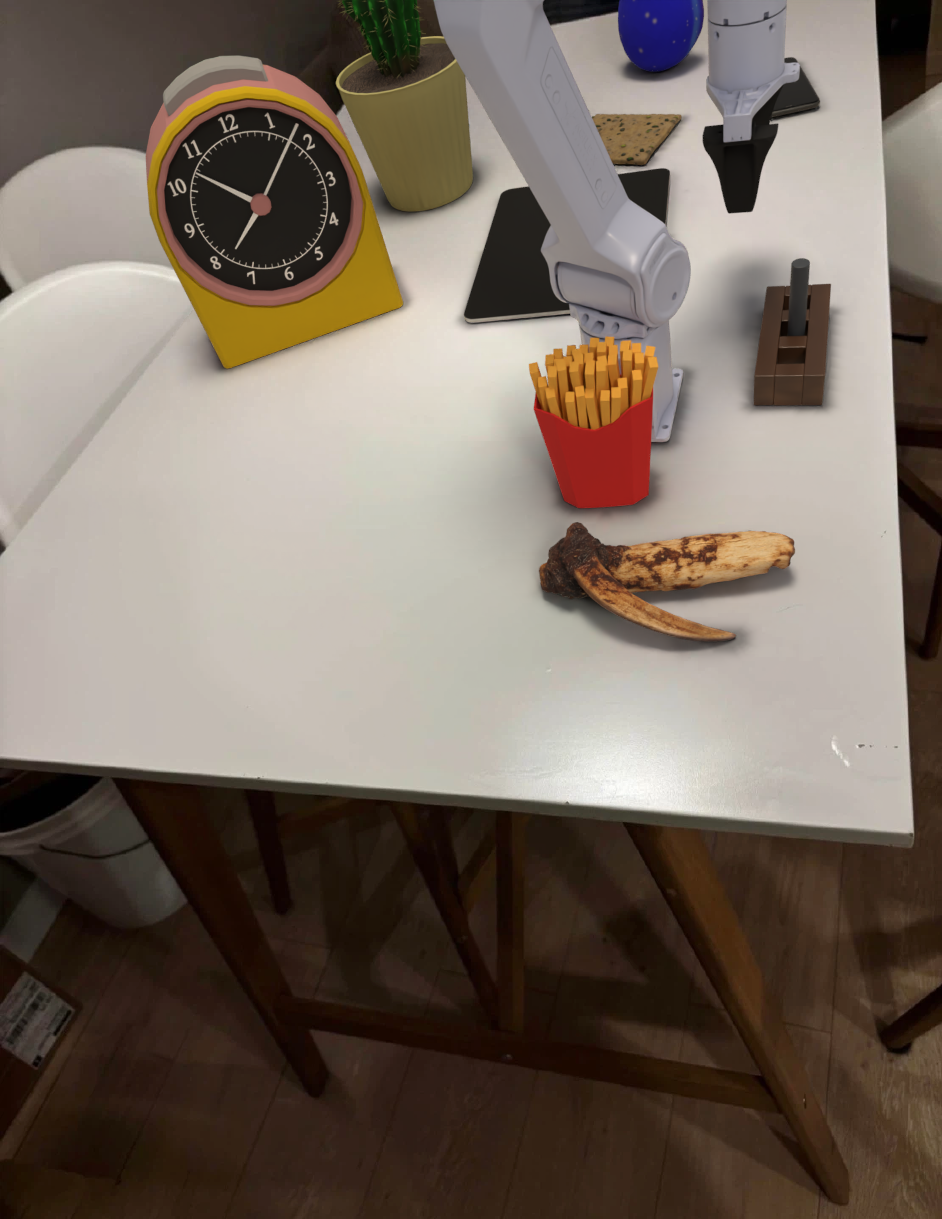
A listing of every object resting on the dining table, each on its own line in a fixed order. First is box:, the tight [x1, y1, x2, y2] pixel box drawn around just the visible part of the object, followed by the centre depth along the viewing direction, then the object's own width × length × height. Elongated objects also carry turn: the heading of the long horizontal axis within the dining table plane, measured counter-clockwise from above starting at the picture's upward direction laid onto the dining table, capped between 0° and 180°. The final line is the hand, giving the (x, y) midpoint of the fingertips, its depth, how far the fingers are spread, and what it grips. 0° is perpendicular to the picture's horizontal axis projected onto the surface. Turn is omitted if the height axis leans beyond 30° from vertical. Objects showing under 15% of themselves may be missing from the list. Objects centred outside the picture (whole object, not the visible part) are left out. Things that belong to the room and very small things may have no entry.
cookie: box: [591, 113, 682, 166], centre depth 111 cm, size 12×12×1 cm
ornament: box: [617, 0, 705, 73], centre depth 117 cm, size 11×9×15 cm
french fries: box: [528, 336, 658, 509], centre depth 67 cm, size 9×4×13 cm, turn 82°
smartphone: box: [771, 56, 821, 118], centre depth 110 cm, size 7×1×15 cm
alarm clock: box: [145, 55, 404, 369], centre depth 90 cm, size 21×9×26 cm, turn 105°
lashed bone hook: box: [538, 521, 796, 643], centre depth 62 cm, size 9×5×18 cm
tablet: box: [463, 167, 671, 324], centre depth 97 cm, size 27×1×20 cm
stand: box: [753, 283, 832, 406], centre depth 76 cm, size 5×13×3 cm, turn 164°
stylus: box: [787, 257, 811, 336], centre depth 74 cm, size 1×1×9 cm
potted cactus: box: [335, 0, 474, 213], centre depth 103 cm, size 15×15×30 cm
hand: (744, 187), depth 77 cm, fingers open, 7 cm apart
